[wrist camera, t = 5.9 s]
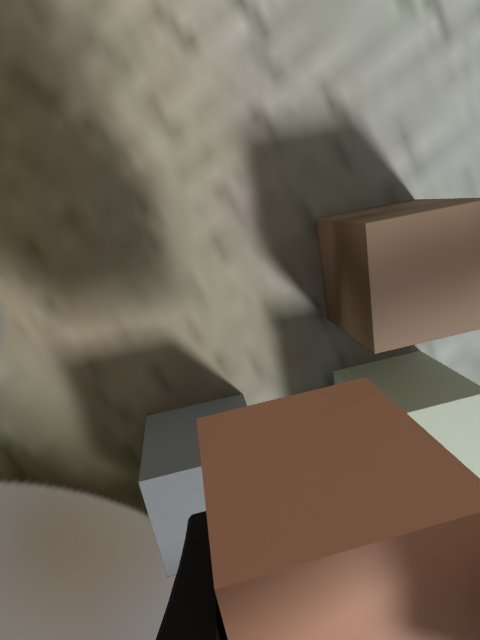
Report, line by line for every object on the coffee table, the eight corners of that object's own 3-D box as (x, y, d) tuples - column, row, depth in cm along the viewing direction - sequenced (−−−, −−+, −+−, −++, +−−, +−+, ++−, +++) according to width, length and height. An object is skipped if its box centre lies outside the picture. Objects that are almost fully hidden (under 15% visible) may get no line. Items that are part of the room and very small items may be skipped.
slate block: (256, 470, 22) (280, 545, 17) (168, 493, 21) (167, 576, 16) (242, 392, 20) (263, 450, 15) (146, 415, 20) (138, 481, 15)
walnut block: (417, 297, 20) (491, 326, 15) (326, 318, 20) (374, 353, 15) (413, 199, 19) (495, 197, 14) (315, 218, 18) (365, 223, 13)
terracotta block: (377, 512, 13) (497, 694, 8) (229, 554, 12) (264, 775, 7) (366, 377, 11) (508, 503, 6) (196, 418, 11) (213, 589, 6)
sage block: (421, 427, 23) (486, 485, 18) (341, 448, 22) (386, 514, 17) (418, 350, 21) (489, 391, 16) (332, 370, 21) (379, 419, 16)
